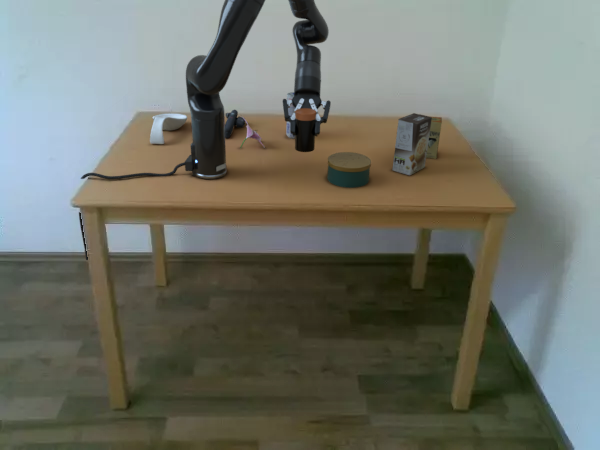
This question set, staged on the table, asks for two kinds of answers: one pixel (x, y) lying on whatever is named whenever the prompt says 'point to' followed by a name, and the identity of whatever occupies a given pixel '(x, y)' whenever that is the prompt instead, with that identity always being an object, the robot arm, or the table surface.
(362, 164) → the biscuit tin
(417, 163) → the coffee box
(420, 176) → the table surface
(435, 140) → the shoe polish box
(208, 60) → the robot arm
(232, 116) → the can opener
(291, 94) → the beverage can
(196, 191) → the table surface
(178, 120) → the spoon rest
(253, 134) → the lily
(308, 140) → the tea tin
